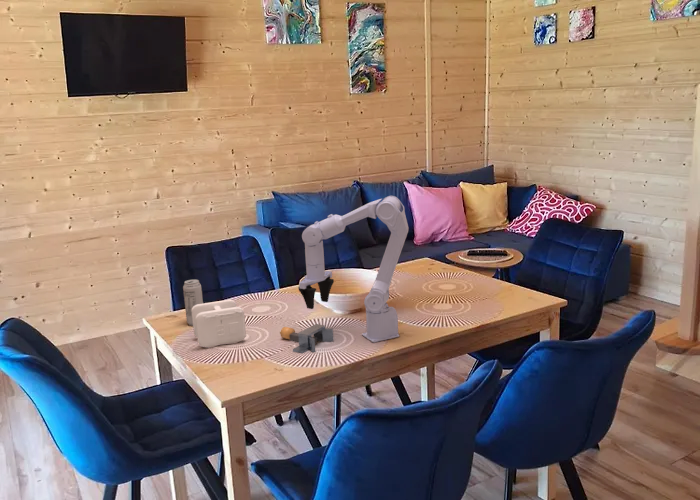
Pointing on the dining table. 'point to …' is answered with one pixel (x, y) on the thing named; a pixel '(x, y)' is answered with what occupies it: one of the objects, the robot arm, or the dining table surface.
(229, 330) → the cable organizer
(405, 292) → the dining table surface
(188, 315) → the energy drink can
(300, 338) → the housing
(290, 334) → the grey and orange tool
